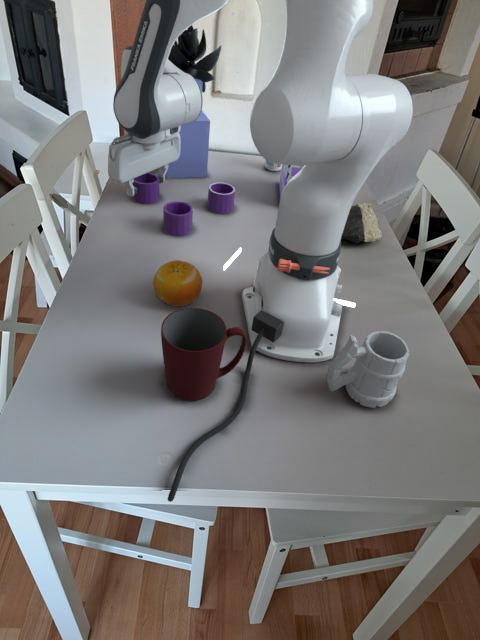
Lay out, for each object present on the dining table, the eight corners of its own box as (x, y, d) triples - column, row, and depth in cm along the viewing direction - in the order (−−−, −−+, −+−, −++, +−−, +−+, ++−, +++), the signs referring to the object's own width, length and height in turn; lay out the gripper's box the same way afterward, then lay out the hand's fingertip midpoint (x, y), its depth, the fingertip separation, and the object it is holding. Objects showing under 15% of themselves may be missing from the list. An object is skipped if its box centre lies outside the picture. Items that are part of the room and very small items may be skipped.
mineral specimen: (393, 224, 103) (332, 222, 98) (380, 252, 107) (321, 251, 103) (368, 195, 111) (310, 192, 107) (357, 222, 116) (302, 220, 112)
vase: (207, 158, 133) (216, 14, 110) (217, 176, 125) (229, 24, 102) (157, 159, 130) (155, 9, 107) (164, 178, 121) (163, 20, 98)
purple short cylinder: (232, 215, 110) (234, 196, 107) (205, 212, 110) (207, 192, 107) (234, 203, 115) (236, 184, 112) (209, 200, 115) (210, 180, 112)
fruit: (137, 276, 83) (162, 250, 79) (173, 274, 90) (197, 250, 85) (156, 317, 81) (183, 293, 77) (191, 312, 88) (217, 290, 83)
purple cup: (156, 205, 110) (155, 185, 107) (130, 202, 110) (128, 181, 107) (161, 193, 115) (161, 174, 112) (136, 190, 115) (135, 170, 112)
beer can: (281, 166, 135) (288, 123, 127) (280, 173, 131) (288, 129, 123) (265, 164, 135) (271, 121, 127) (264, 170, 131) (270, 127, 124)
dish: (189, 237, 101) (190, 217, 98) (161, 234, 101) (161, 213, 98) (193, 223, 106) (194, 203, 103) (166, 220, 106) (166, 199, 103)
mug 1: (234, 357, 76) (242, 305, 69) (245, 400, 69) (255, 348, 62) (159, 362, 73) (158, 308, 66) (163, 408, 67) (163, 354, 60)
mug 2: (401, 407, 72) (430, 352, 64) (329, 415, 69) (350, 358, 61) (380, 370, 77) (404, 315, 69) (312, 376, 74) (329, 320, 67)
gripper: (120, 144, 93) (124, 207, 102) (185, 122, 107) (184, 179, 116) (97, 135, 96) (103, 198, 105) (164, 114, 109) (164, 171, 118)
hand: (146, 188), depth 110 cm, fingers open, 8 cm apart
